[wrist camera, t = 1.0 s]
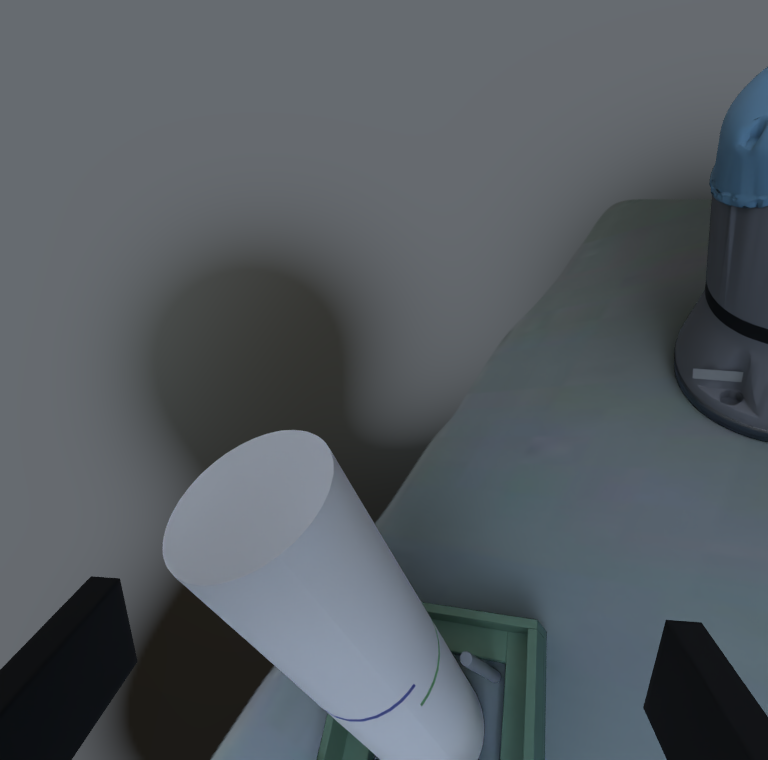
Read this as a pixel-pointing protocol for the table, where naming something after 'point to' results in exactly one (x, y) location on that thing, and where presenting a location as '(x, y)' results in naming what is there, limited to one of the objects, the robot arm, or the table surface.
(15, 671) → the robot arm
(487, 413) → the table surface
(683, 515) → the table surface
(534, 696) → the drying rack
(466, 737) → the cylindrical container
